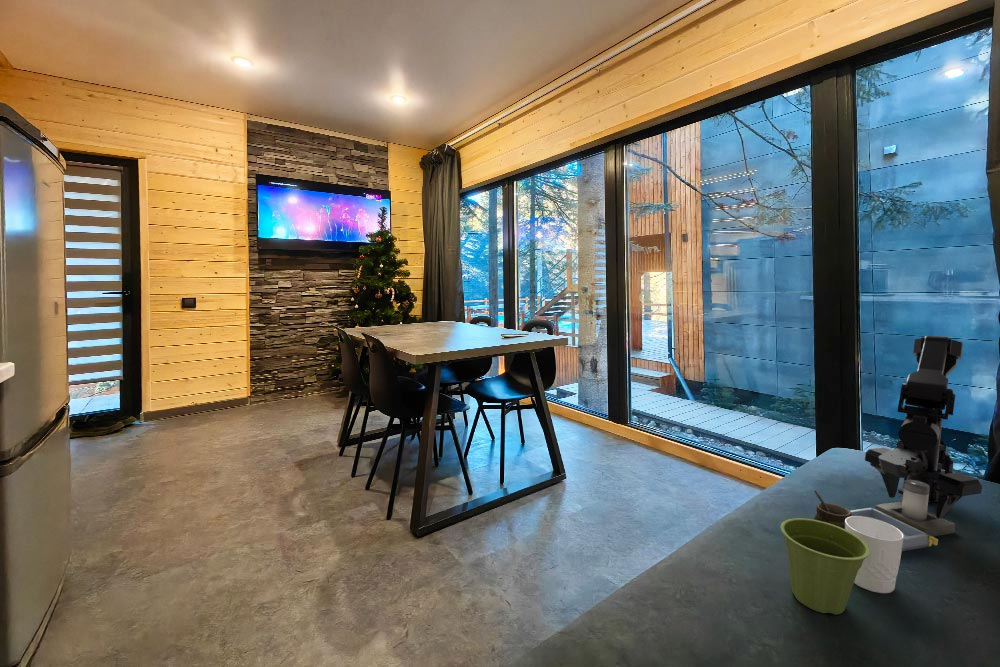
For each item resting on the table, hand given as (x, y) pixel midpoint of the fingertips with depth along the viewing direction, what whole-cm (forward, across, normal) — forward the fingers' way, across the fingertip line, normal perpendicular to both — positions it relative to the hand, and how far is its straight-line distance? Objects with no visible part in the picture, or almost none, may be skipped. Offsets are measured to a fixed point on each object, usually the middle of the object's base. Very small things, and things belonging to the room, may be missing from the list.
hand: (914, 507), depth 96 cm
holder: (+4, 0, 0) cm, 4 cm away
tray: (+4, +2, -12) cm, 12 cm away
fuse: (+4, 0, 0) cm, 4 cm away
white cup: (+4, +13, -29) cm, 32 cm away
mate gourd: (+4, +3, -26) cm, 26 cm away
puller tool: (+4, +3, -6) cm, 7 cm away
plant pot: (+4, +15, -42) cm, 44 cm away
